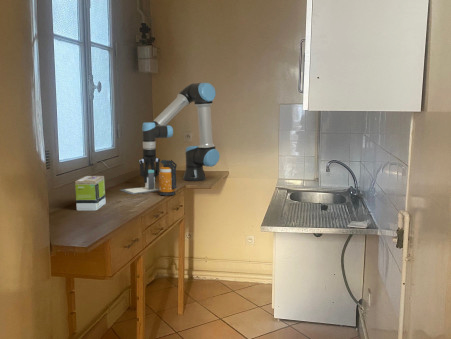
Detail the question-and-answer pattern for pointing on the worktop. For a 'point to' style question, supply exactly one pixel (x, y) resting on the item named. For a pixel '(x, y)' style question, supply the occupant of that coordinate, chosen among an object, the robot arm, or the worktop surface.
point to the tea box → (90, 193)
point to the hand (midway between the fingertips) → (150, 187)
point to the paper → (139, 190)
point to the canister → (167, 178)
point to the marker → (150, 178)
